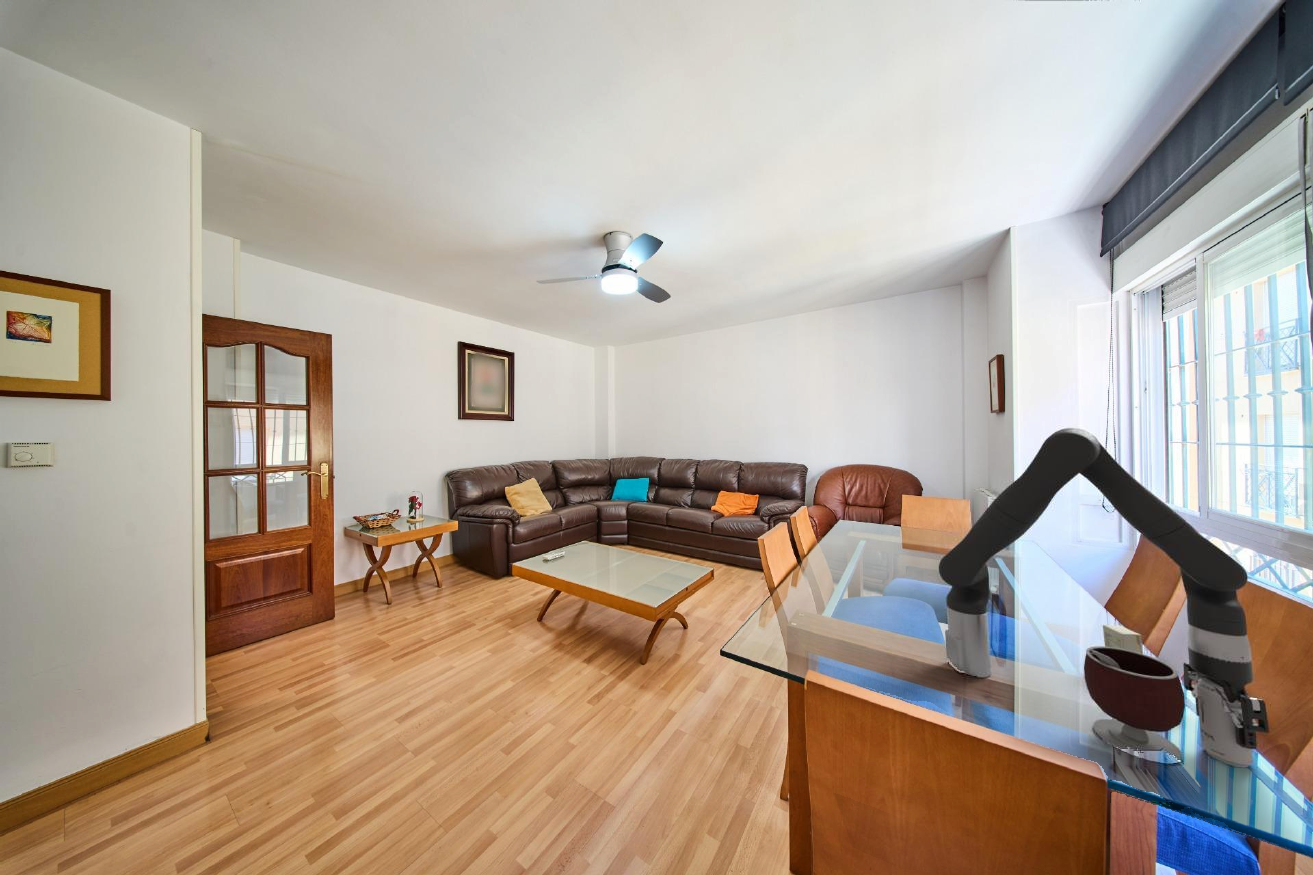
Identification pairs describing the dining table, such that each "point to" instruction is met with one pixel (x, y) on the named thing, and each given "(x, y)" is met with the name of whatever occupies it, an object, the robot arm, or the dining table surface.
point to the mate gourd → (1134, 698)
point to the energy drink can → (1219, 726)
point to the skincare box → (1122, 638)
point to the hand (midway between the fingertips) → (1224, 731)
